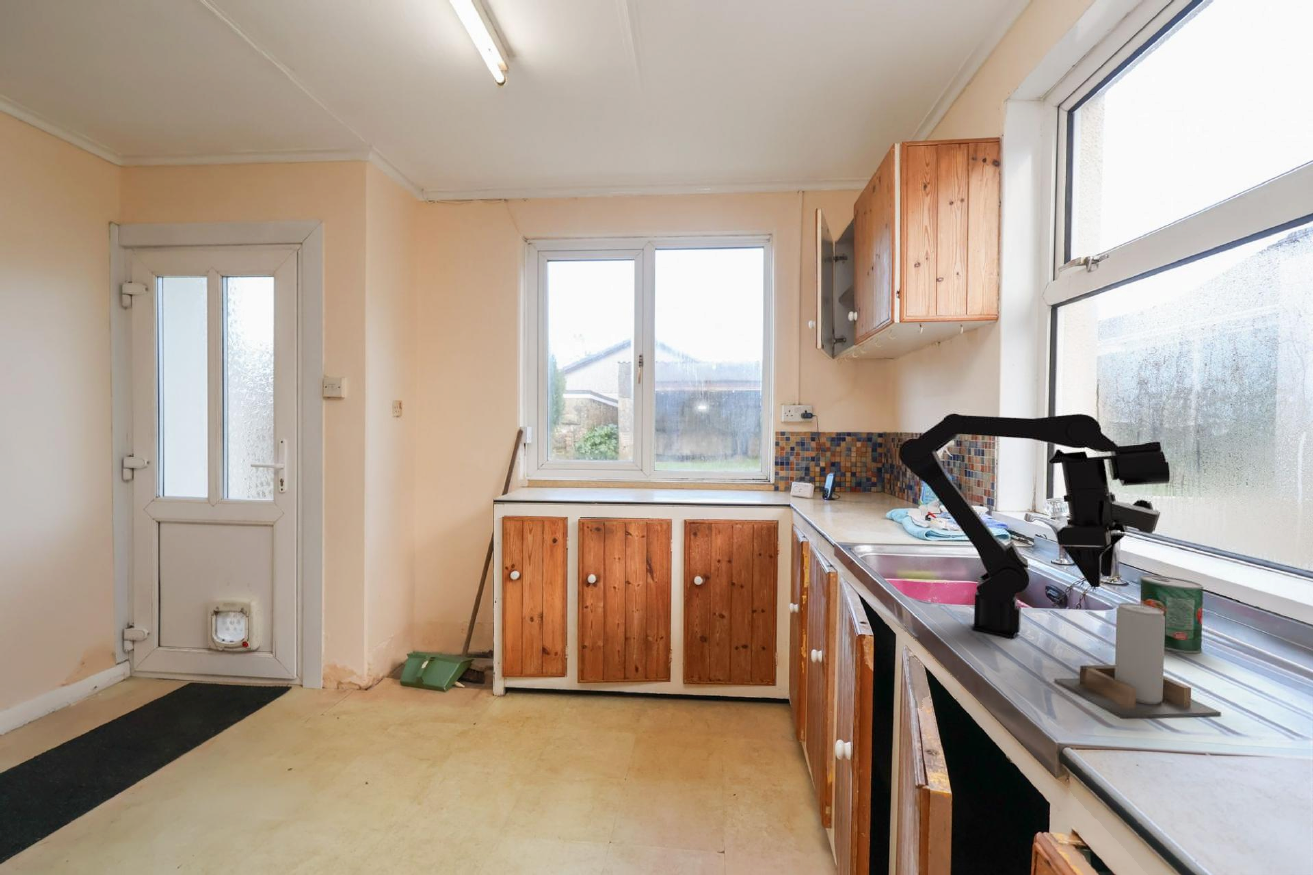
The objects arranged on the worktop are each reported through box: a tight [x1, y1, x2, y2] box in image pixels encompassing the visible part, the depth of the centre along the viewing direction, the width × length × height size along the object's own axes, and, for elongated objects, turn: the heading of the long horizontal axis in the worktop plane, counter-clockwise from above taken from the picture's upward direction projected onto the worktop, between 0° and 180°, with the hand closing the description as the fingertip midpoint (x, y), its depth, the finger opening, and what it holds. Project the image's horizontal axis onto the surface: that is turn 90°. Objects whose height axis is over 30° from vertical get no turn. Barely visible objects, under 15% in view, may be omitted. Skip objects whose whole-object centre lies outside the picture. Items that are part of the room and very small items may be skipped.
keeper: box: [1053, 664, 1222, 719], centre depth 73 cm, size 10×14×3 cm
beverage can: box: [1114, 602, 1165, 705], centre depth 72 cm, size 5×5×12 cm
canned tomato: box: [1139, 574, 1204, 654], centre depth 93 cm, size 8×8×11 cm
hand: (1101, 581), depth 89 cm, fingers open, 9 cm apart
